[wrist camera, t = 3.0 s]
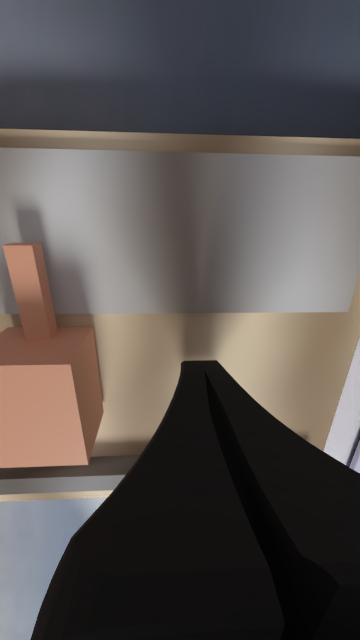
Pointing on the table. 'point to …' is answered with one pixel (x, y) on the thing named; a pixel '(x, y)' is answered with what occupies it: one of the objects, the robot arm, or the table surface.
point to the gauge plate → (187, 274)
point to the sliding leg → (45, 375)
